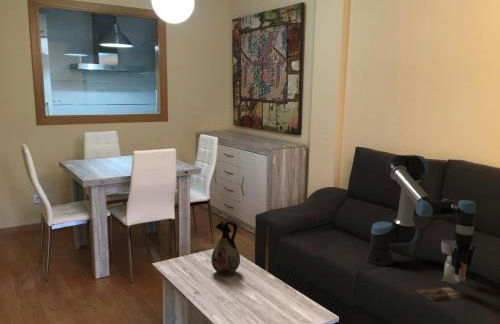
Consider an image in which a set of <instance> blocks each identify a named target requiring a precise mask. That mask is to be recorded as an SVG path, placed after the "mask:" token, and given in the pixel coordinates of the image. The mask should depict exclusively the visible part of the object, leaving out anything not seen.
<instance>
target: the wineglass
mask: <svg viewBox="0 0 500 324" xmlns="http://www.w3.org/2000/svg"><path fill="white" fill-rule="evenodd" d="M455 244H456V240H453V239H442V240H441V244H440V245H441V248H440V249H441V254H442V256H443V257H444V258H445V259H447V256H451V249H450V248H451V247H454V246H455Z"/></svg>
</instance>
